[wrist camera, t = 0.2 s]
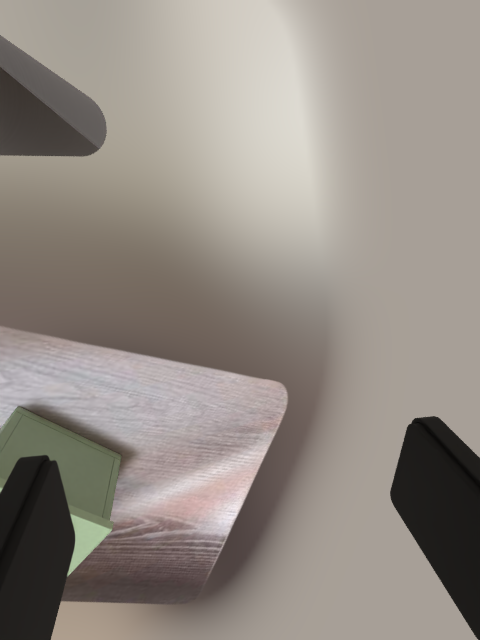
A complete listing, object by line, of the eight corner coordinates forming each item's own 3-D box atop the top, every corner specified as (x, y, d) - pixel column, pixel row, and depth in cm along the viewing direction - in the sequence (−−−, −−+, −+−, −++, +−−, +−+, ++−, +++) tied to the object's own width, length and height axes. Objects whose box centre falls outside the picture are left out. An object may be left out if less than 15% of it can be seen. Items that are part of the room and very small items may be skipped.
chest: (18, 405, 36) (-26, 475, 28) (121, 455, 41) (108, 526, 33) (-50, 493, 39) (-107, 577, 31) (54, 529, 44) (27, 611, 36)
